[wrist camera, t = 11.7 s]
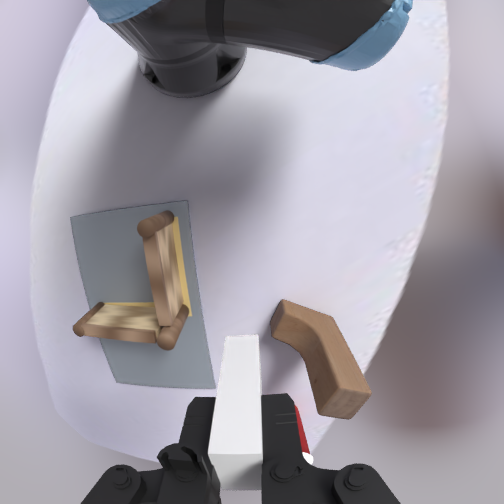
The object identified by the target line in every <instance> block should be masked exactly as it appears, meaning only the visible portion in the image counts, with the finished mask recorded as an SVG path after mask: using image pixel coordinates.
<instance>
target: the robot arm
mask: <svg viewBox="0 0 504 504" xmlns="http://www.w3.org/2000/svg"><path fill="white" fill-rule="evenodd" d="M87 1H88V3H89V5H90V6H91V7H92V8H93V9H94V10H95V11H96V12H97V14H98V16H99V19H100V20H101V21H102V22H104V23H106V24H107V25H109V26H110V27H111V28H112V29H113V30H114V31H115V32H116V33H117V34H119V35H120V36H121V37H122V38H123V39H124V40H125V41H126V42H127V43H128V44H129V45H130V46H132V47H133V48H134V49H135V50H136V51H137V52H138V58H139V64H140V69H141V71H142V73H143V75H144V77H145V78H146V79H147V81H148V82H149V83H150V84H151V85H153V86H154V87H155V88H156V89H157V90H159V91H161V92H162V93H165V94H167V95H170V96H174V97H182V98H188V97H197V96H202V95H205V94H208V93H211V92H213V91H215V90H217V89H219V88H221V87H223V86H224V85H225V84H227V83H228V82H229V81H230V80H232V79H233V78H234V77H235V75H236V74H237V73H238V72H239V70H240V69H241V67H242V65H243V63H244V61H245V58H246V53H247V47H248V48H255V49H261V50H266V51H271V52H276V53H281V54H286V55H290V56H295V57H299V58H303V59H307V60H309V61H310V62H311V63H315V64H327V65H331V66H334V67H338V68H341V69H345V70H351V71H357V70H360V69H366V68H368V67H370V66H372V65H374V64H376V63H377V62H378V61H380V60H381V59H382V58H383V57H384V56H385V55H386V54H387V53H388V52H389V51H390V50H391V49H392V47H393V46H394V45H395V44H396V42H397V41H398V39H399V38H400V36H401V35H402V33H403V31H404V29H405V27H406V25H407V23H408V20H409V16H408V15H407V14H408V12H409V11H410V10H411V9H412V4H413V0H87ZM157 458H158V460H159V462H160V463H161V465H162V466H163V468H162V469H157V470H151V471H141V472H137V471H136V470H135V469H134V468H132V467H131V466H127V465H115V466H113V467H110V468H109V469H108V470H107V471H106V472H105V473H104V474H103V475H102V477H101V478H100V479H99V481H98V482H97V483H96V485H95V486H94V487H93V488H92V490H91V491H90V492H89V494H88V495H87V496H86V497H85V499H84V500H83V501H82V503H81V504H221V498H220V496H219V495H220V486H221V488H222V490H262V504H400V502H399V501H398V500H397V498H396V497H395V496H394V494H393V493H392V492H391V490H390V489H389V488H388V486H387V485H386V484H385V482H384V481H383V480H382V478H381V477H380V475H379V474H378V473H377V471H376V470H375V469H373V468H372V467H371V466H368V465H365V464H352V465H348V466H346V467H344V468H343V469H341V470H327V469H320V468H317V467H314V466H312V465H311V464H310V463H308V462H307V461H306V459H305V458H304V456H303V453H302V447H301V441H300V435H299V429H298V423H297V416H296V410H295V404H294V401H293V400H292V399H291V398H290V396H289V395H288V394H287V393H285V394H272V395H262V379H261V365H260V351H259V337H258V334H257V335H239V336H226V338H225V344H224V350H223V356H222V363H221V369H220V375H219V382H218V388H217V395H216V397H195V398H194V399H193V400H192V402H191V403H190V404H189V405H188V408H187V412H186V418H185V420H184V426H183V427H182V431H181V435H180V439H179V443H175V444H172V445H169V446H166V447H165V448H164V449H162V450H161V451H160V452H159V454H158V456H157Z"/></svg>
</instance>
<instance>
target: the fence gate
mask: <svg viewBox="0 0 504 504" xmlns="http://www.w3.org/2000/svg"><path fill="white" fill-rule="evenodd" d="M163 327H164V326H159V322H158V318H157V313H156V309H155V307H140V306H122V305H107V304H104V303H103V302H98V303H97V304H96V305H95V306H94V307H93V308H92V309H91V310H90V311H88V312H87V313H86V314H85V315H84V316H83V317H82V318H81V319H80V320H79V321H78V322H77V323H76V324H75V325H74V326H73V331H74V333H75V334H76V335H77V336H79V337H82V336H83V335H85V336H91V337H98V338H106V339H114V340H123V341H132V342H143V343H154V344H156V342H157V337H158V336H159V334H160V332H161V330H162V328H163Z"/></svg>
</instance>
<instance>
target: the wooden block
mask: <svg viewBox="0 0 504 504" xmlns="http://www.w3.org/2000/svg"><path fill="white" fill-rule="evenodd" d="M270 325H271V334H272V337H273V338H275V339H277V340H280V341H282V342H284V343H287V344H289V345H290V346H292V347H293V348H294V349H295V350H297V351H298V352H299V353H300V355H301V356H302V358H303V360H304V361H305V365H306V368H307V372H308V376H309V380H310V384H311V388H312V392H313V396H314V399H315V403H316V407H317V411H318V414H319V415H322V416H328V417H334V418H341V419H351V418H352V417H353V416H354V415H355V414H356V412H358V410H359V409H360V408H361V407H362V406H363V404H364V403H365V402H366V401H367V400H368V399H369V397H370V396H371V394H372V392H371V390H370V388H369V386H368V384H367V382H366V380H365V378H364V376H363V374H362V372H361V370H360V368H359V366H358V364H357V362H356V360H355V358H354V356H353V354H352V353H351V351H350V349H349V347H348V345H347V343H346V341H345V339H344V337H343V335H342V334H341V332H340V330H339V328H338V326H337V324H336V322H335V320H334V319H333V317H331V316H328V315H326V314H323V313H320V312H317V311H314V310H312V309H309V308H306V307H303V306H301V305H298V304H295V303H292V302H290V301H287V300H284V299H282V300H281V301H280V303H279V305H278V307H277V309H276V311H275V313H274V315H273V317H272V319H271V321H270Z"/></svg>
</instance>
